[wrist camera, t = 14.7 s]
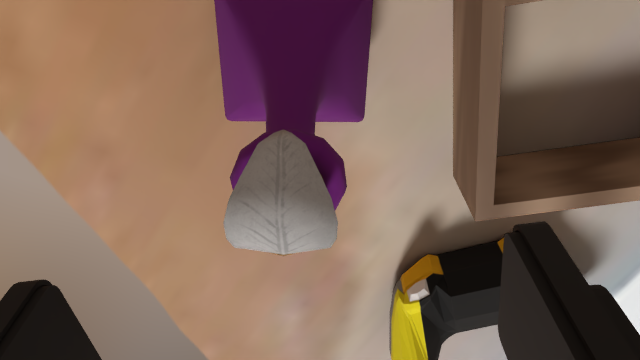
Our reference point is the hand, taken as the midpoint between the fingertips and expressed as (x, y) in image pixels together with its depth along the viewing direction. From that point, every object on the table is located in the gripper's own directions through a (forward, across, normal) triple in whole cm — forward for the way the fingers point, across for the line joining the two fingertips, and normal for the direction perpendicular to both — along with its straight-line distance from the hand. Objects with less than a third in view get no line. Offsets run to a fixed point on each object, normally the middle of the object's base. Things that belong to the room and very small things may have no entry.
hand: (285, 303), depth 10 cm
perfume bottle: (+20, +1, 0) cm, 20 cm away
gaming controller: (+21, -10, +21) cm, 31 cm away
